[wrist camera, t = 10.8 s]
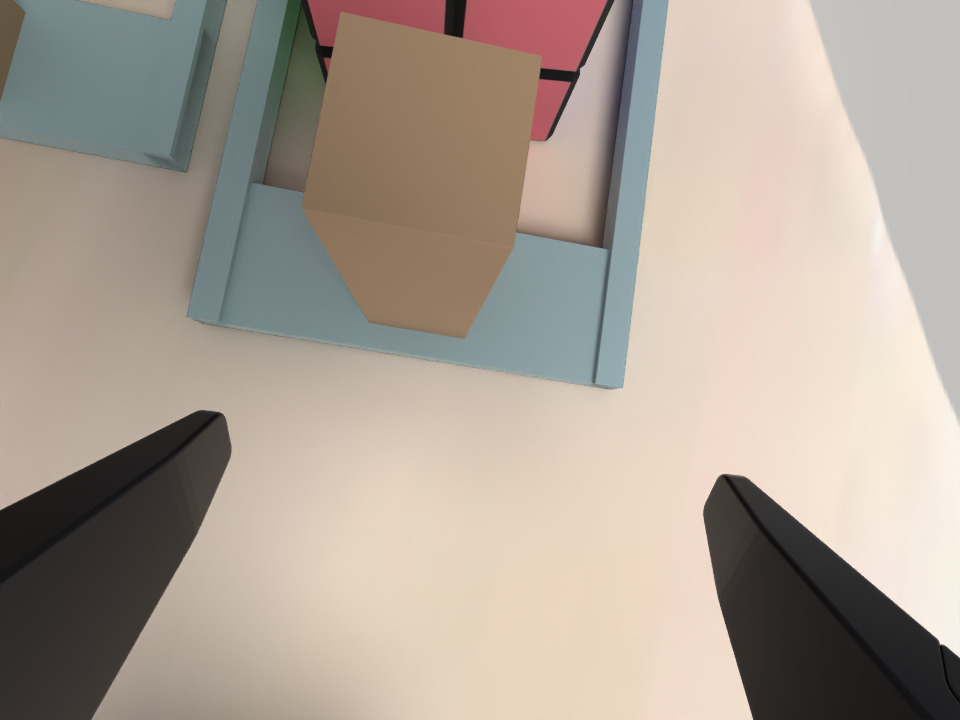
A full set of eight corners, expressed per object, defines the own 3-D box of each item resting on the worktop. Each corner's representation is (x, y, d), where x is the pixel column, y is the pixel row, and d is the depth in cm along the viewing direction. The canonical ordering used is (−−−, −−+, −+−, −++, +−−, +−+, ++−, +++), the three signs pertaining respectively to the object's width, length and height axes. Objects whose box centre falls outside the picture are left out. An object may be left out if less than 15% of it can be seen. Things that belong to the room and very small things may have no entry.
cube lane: (610, 389, 23) (846, 357, 10) (202, 323, 22) (-127, 186, 9) (664, -59, 26) (903, -530, 13) (306, -147, 25) (173, -785, 12)
